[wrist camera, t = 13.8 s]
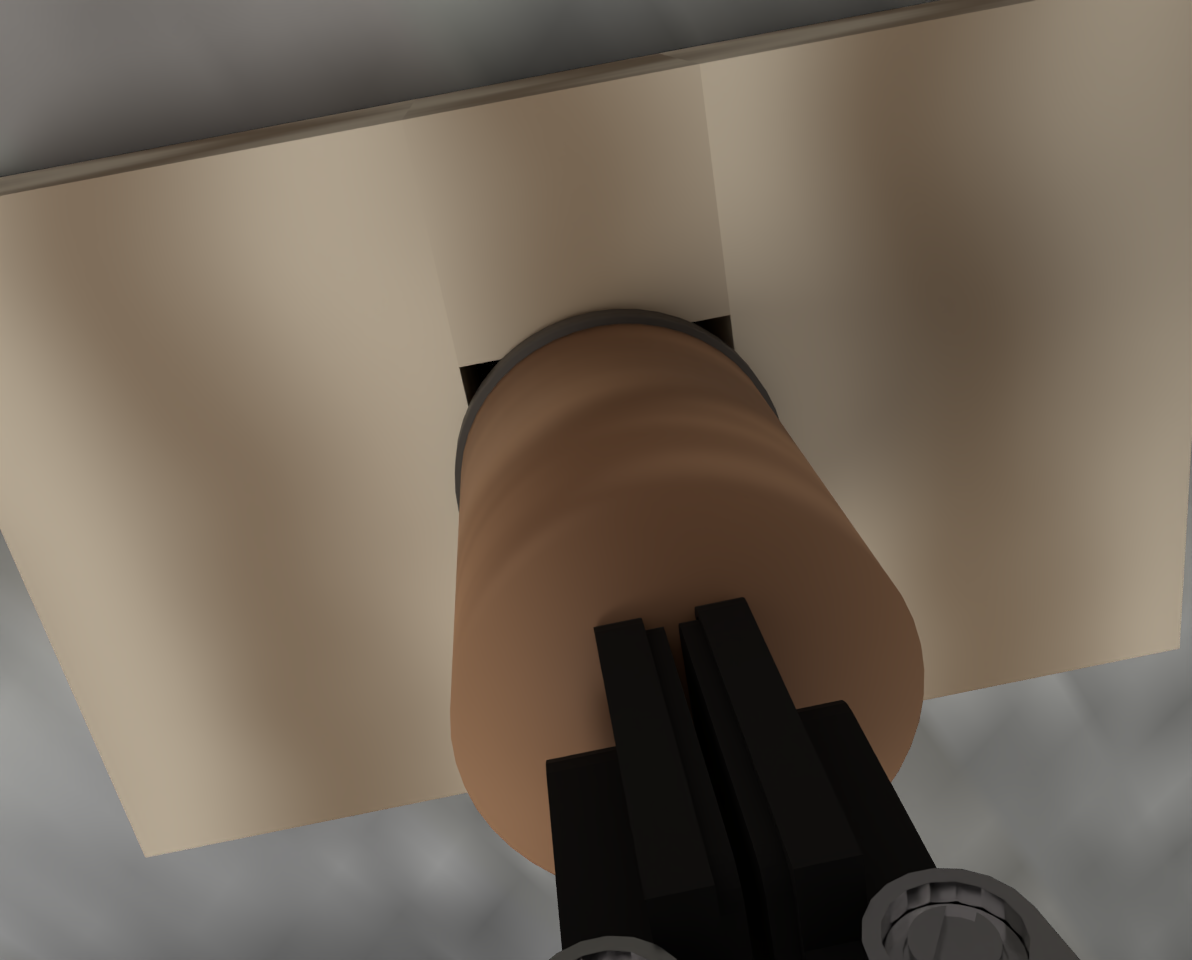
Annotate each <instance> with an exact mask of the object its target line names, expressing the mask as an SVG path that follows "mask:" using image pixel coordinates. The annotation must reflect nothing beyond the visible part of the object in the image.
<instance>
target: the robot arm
mask: <svg viewBox="0 0 1192 960" xmlns="http://www.w3.org/2000/svg"><path fill="white" fill-rule="evenodd" d="M695 618H696V620H693V621H688V622H683V623H679V625H678V626H679V635H680V641H681V647H682V653H683V660H684V666H685V672H686V678H687V684H688V690H689V696H690V703H691V709H692V715H693V721H694V724H693V721H692V718H691V714H690V711H689V708H688V704H687V701H686V698H685V695H684V691H683V688H682V685H681V681H680V678H679V675H678V672H677V668H676V665H675V662H674V658H673V655H672V652H671V649H670V645H669V642H668V639H667V635H666V632H665V629H664V627H658V628H653V629H648V630H645V627H644V624H643V620H642V618H636V619H631V620H626V621H621V622H616V623H611V624H606V625H601V626H596V627H593V628H594V634H595V639H596V644H597V650H598V655H599V660H600V666H601V671H602V676H603V681H604V687H605V692H606V697H607V703H608V708H609V713H610V718H611V724H612V729H613V734H614V740H615V745H616V746H613V747H608V748H603V749H598V750H593V751H589V752H584V753H579V754H574V755H569V756H564V757H559V758H554V759H549V760H546V777H547V788H548V799H549V810H550V821H551V832H552V843H553V854H554V865H555V876H556V887H557V898H558V909H559V920H560V931H561V942H562V951H560V952H558V953H556V954H555V955H554V956H553V957H552V958H550V959H549V960H1080V959H1079V958H1078V957H1077V955H1076V954H1075V953H1074V952H1073V951H1072V950H1071V948H1070V947H1069V946H1068V945H1067V944H1066V943H1065V941H1064V940H1063V939H1062V938H1061V937H1060V935H1059V934H1058V933H1057V932H1056V931H1055V930H1054V928H1053V927H1052V926H1051V925H1050V924H1049V923H1048V921H1047V920H1046V919H1045V918H1044V917H1043V916H1042V914H1041V913H1040V912H1039V911H1038V910H1037V909H1036V907H1035V906H1034V905H1032V904H1031V903H1030V902H1029V901H1028V900H1027V899H1026V898H1024V897H1023V896H1022V895H1021V894H1020V893H1019V892H1018V891H1017V890H1015V889H1014V888H1012V887H1010V886H1008V885H1006V884H1004V883H1002V882H1000V881H998V880H996V879H994V878H993V877H991V876H988V875H984V874H980V873H976V872H972V871H968V870H964V869H950V868H936V866H935V864H934V862H933V860H932V858H931V857H930V855H929V853H928V851H927V849H926V847H925V845H924V844H923V842H922V840H921V838H920V836H919V834H918V832H917V831H916V829H915V827H914V825H913V823H912V821H911V819H910V818H909V816H908V814H907V812H906V810H905V808H904V806H903V805H902V803H901V801H900V799H899V797H898V795H897V793H896V792H895V790H894V788H893V786H892V784H891V782H890V780H889V779H888V777H887V775H886V773H885V771H884V769H883V767H882V766H881V764H880V762H879V760H878V758H877V756H876V754H875V753H874V751H873V749H872V747H871V745H870V743H869V741H868V740H867V738H866V736H865V734H864V732H863V730H862V728H861V727H860V725H859V723H858V721H857V719H856V717H855V715H854V714H853V712H852V710H851V709H850V707H849V706H848V704H847V703H846V702H845V701H843V700H839V701H834V702H829V703H824V704H819V705H814V706H809V707H804V708H799V709H796V708H795V705H794V703H793V701H792V699H791V697H790V694H789V692H788V690H787V688H786V686H785V684H784V681H783V679H782V677H781V675H780V673H779V671H778V668H777V666H776V664H775V662H774V660H773V657H772V655H771V653H770V651H769V649H768V647H767V644H766V642H765V640H764V638H763V636H762V634H761V631H760V629H759V627H758V625H757V623H756V620H755V618H754V616H753V614H752V612H751V610H750V607H749V605H748V603H747V601H746V599H745V598H744V597H740V598H735V599H730V600H725V601H720V602H715V603H710V604H705V605H700V606H696V607H695Z"/></svg>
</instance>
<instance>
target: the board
mask: <svg viewBox="0 0 1192 960" xmlns="http://www.w3.org/2000/svg"><path fill="white" fill-rule="evenodd" d="M609 309H641V310H649V311H656V312H661V313H665V314H668V315H672V316H676V317H679V318H682V319H684V320H687V321H689V322H695V324H696V325H699V326H700V327H702V328H704V329H706V330H707V331H709V332H711V333H712V334H714V335H716V336H717V337H719V338H720V339H721V340H722V341H724V342H725V343H726V344H727V345H729V346H730V347H731V348H732V349H734V350H735V351H736V352H737V354H738V355H739V356H740V357H741V358H742V359H743V360H744V361H745V362H746V363H747V364H748V365H749V367H750V368H751V370H752V371H753V372H754V374H755V375H756V377H757V378H758V379H759V381H760V382H761V384H762V385H763V387H764V388H765V389H766V391H767V393H768V395H769V397H770V399H771V401H772V403H773V405H774V407H775V409H776V411H777V414H778V417H779V420H780V422H781V423H782V425H783V426H784V428H785V429H786V431H787V432H788V433H789V435H790V436H791V438H792V439H793V441H794V442H795V443H796V445H797V446H798V448H799V449H800V451H801V452H802V453H803V455H804V456H805V458H806V459H807V461H808V462H809V463H810V465H811V466H812V468H813V469H814V471H815V472H816V473H817V475H818V476H819V478H820V479H821V481H822V482H823V483H824V485H825V486H826V488H827V489H828V491H829V492H830V493H831V495H832V496H833V498H834V499H835V501H836V502H837V503H838V505H839V506H840V508H841V509H842V511H843V512H844V513H845V515H846V516H847V518H848V519H849V521H850V522H851V523H852V525H853V526H854V528H855V529H856V531H857V532H858V533H859V535H860V536H861V538H862V539H863V541H864V542H865V543H866V545H867V546H868V548H869V549H870V551H871V552H872V553H873V555H874V556H875V558H876V559H877V561H878V562H879V563H880V565H881V566H882V568H883V569H884V571H885V572H886V573H887V575H888V576H889V578H890V579H891V581H892V582H893V583H894V585H895V586H896V588H897V589H898V591H899V592H900V593H901V595H902V597H903V599H904V601H905V603H906V605H907V607H908V609H909V611H910V613H911V615H912V617H913V619H914V622H915V626H916V629H917V632H918V636H919V639H920V643H921V648H922V655H923V663H924V697H923V700H927V699H932V698H937V697H942V696H947V695H952V694H957V693H962V692H967V691H972V690H977V689H982V688H987V687H992V686H997V685H1001V684H1006V683H1011V682H1016V681H1021V680H1026V679H1031V678H1036V677H1041V676H1046V675H1051V674H1056V673H1061V672H1066V671H1071V670H1076V669H1081V668H1086V667H1090V666H1095V665H1100V664H1105V663H1110V662H1115V661H1120V660H1125V659H1130V658H1135V657H1140V656H1145V655H1150V654H1155V653H1160V652H1165V651H1170V650H1175V649H1179V647H1180V630H1181V613H1182V596H1183V579H1184V562H1185V544H1186V527H1187V510H1188V493H1189V476H1190V459H1191V442H1192V0H939V1H934V2H929V3H923V4H918V5H913V6H908V7H902V8H897V9H892V10H886V11H881V12H876V13H870V14H865V15H860V16H854V17H849V18H844V19H838V20H833V21H828V22H823V23H817V24H812V25H807V26H801V27H796V28H791V29H785V30H780V31H775V32H769V33H764V34H759V35H754V36H748V37H743V38H738V39H732V40H727V41H722V42H716V43H711V44H706V45H700V46H695V47H690V48H684V49H679V50H674V51H669V52H663V53H658V54H653V55H647V56H642V57H637V58H631V59H626V60H621V61H615V62H610V63H605V64H600V65H594V66H589V67H584V68H578V69H573V70H568V71H562V72H557V73H552V74H546V75H541V76H536V77H530V78H525V79H520V80H515V81H509V82H504V83H499V84H493V85H488V86H483V87H477V88H472V89H467V90H461V91H456V92H451V93H446V94H440V95H435V96H430V97H424V98H419V99H414V100H408V101H403V102H398V103H392V104H387V105H382V106H376V107H371V108H366V109H361V110H355V111H350V112H345V113H339V114H334V115H329V116H323V117H318V118H313V119H307V120H302V121H297V122H291V123H286V124H281V125H276V126H270V127H265V128H260V129H254V130H249V131H244V132H238V133H233V134H228V135H222V136H217V137H212V138H207V139H201V140H196V141H191V142H185V143H180V144H175V145H169V146H164V147H159V148H153V149H148V150H143V151H137V152H132V153H127V154H122V155H116V156H111V157H106V158H100V159H95V160H90V161H84V162H79V163H74V164H68V165H63V166H58V167H53V168H47V169H42V170H37V171H31V172H26V173H21V174H15V175H10V176H5V177H0V529H1V532H2V534H3V536H4V538H5V541H6V543H7V545H8V547H9V550H10V552H11V554H12V556H13V559H14V561H15V563H16V565H17V568H18V570H19V572H20V575H21V577H22V579H23V581H24V584H25V586H26V588H27V590H28V593H29V595H30V597H31V599H32V602H33V604H34V606H35V608H36V611H37V613H38V615H39V618H40V620H41V622H42V624H43V627H44V629H45V631H46V633H47V636H48V638H49V640H50V642H51V645H52V647H53V649H54V651H55V654H56V656H57V658H58V661H59V663H60V665H61V667H62V670H63V672H64V674H65V676H66V679H67V681H68V683H69V685H70V688H71V690H72V692H73V694H74V697H75V699H76V701H77V704H78V706H79V708H80V710H81V713H82V715H83V717H84V719H85V722H86V724H87V726H88V728H89V731H90V733H91V735H92V737H93V740H94V742H95V744H96V747H97V749H98V751H99V753H100V756H101V758H102V760H103V762H104V765H105V767H106V769H107V771H108V774H109V776H110V778H111V780H112V783H113V785H114V787H115V790H116V792H117V794H118V796H119V799H120V801H121V803H122V805H123V808H124V810H125V812H126V814H127V817H128V819H129V821H130V823H131V826H132V828H133V830H134V832H135V835H136V837H137V839H138V842H139V844H140V846H141V848H142V851H143V853H144V855H145V857H151V856H156V855H161V854H166V853H171V852H176V851H181V850H186V849H190V848H195V847H200V846H205V845H210V844H215V843H220V842H225V841H230V840H235V839H240V838H245V837H250V836H255V835H260V834H265V833H270V832H275V831H279V830H284V829H289V828H294V827H299V826H304V825H309V824H314V823H319V822H324V821H329V820H334V819H339V818H344V817H349V816H354V815H359V814H364V813H369V812H373V811H378V810H383V809H388V808H393V807H398V806H403V805H408V804H413V803H418V802H423V801H428V800H433V799H438V798H443V797H448V796H453V795H458V794H462V793H467V790H466V788H465V787H464V784H463V781H462V778H461V776H460V773H459V770H458V768H457V765H456V761H455V756H454V751H453V746H452V741H451V726H450V701H451V679H452V657H453V636H454V614H455V592H456V571H457V549H458V527H459V511H458V505H457V499H456V493H455V459H456V450H457V442H458V437H459V433H460V429H461V425H462V422H463V418H464V416H465V414H466V411H467V409H468V407H469V404H470V402H471V400H472V398H473V396H474V395H475V393H476V391H477V390H478V388H479V386H480V385H481V384H480V380H479V375H478V371H477V366H476V364H479V363H484V362H489V361H494V360H500V359H502V358H503V357H504V356H505V355H506V354H507V353H509V352H510V351H511V350H512V349H513V348H514V347H516V346H517V345H519V344H520V343H521V342H523V341H524V340H525V339H527V338H528V337H529V336H531V335H533V334H535V333H537V332H538V331H540V330H542V329H544V328H546V327H547V326H549V325H552V324H554V323H557V322H559V321H562V320H564V319H567V318H569V317H573V316H577V315H581V314H585V313H588V312H593V311H601V310H609Z"/></svg>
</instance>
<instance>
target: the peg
mask: <svg viewBox="0 0 1192 960" xmlns="http://www.w3.org/2000/svg"><path fill="white" fill-rule="evenodd" d="M455 493H456V499H457V505H458V511H459V527H458V549H457V571H456V592H455V614H454V636H453V657H452V679H451V701H450V726H451V741H452V746H453V751H454V756H455V761H456V765H457V768H458V770H459V773H460V776H461V778H462V781H463V784H464V787H465V788H466V790H467V792H468V794H469V796H470V797H471V799H472V801H473V803H474V805H475V806H476V808H477V810H478V811H479V812H480V814H481V815H482V816H483V818H484V819H485V820H486V821H487V823H488V824H489V825H490V827H491V828H492V829H493V830H494V831H495V832H496V833H497V834H498V835H499V836H500V837H501V838H502V839H503V840H504V841H505V842H506V843H507V844H508V845H509V846H510V847H512V848H513V849H514V850H516V851H517V852H518V853H520V854H521V855H523V856H524V857H525V858H527V859H528V860H529V861H531V862H532V863H534V864H536V865H537V866H539V867H541V868H543V869H545V870H547V871H548V872H550V873H552V874H554V875H555V865H554V854H553V843H552V832H551V821H550V810H549V799H548V788H547V777H546V760H549V759H554V758H559V757H564V756H569V755H574V754H579V753H584V752H589V751H593V750H598V749H603V748H608V747H613V746H616V745H615V740H614V734H613V729H612V724H611V718H610V713H609V708H608V703H607V697H606V692H605V687H604V681H603V676H602V671H601V666H600V660H599V655H598V650H597V644H596V639H595V634H594V628H593V627H596V626H601V625H606V624H611V623H616V622H621V621H626V620H631V619H636V618H642V620H643V624H644V627H645V630H648V629H653V628H658V627H664V629H665V632H666V635H667V639H668V642H669V645H670V649H671V652H672V655H673V658H674V662H675V665H676V668H677V672H678V675H679V678H680V681H681V685H682V688H683V691H684V695H685V698H686V701H687V704H688V708H689V711H690V714H691V718H692V721H693V715H692V709H691V703H690V696H689V690H688V684H687V678H686V672H685V666H684V660H683V653H682V647H681V641H680V635H679V626H678V625H679V623H683V622H688V621H693V620H696V618H695V607H696V606H700V605H705V604H710V603H715V602H720V601H725V600H730V599H735V598H740V597H744V598H745V599H746V601H747V603H748V605H749V607H750V610H751V612H752V614H753V616H754V618H755V620H756V623H757V625H758V627H759V629H760V631H761V634H762V636H763V638H764V640H765V642H766V644H767V647H768V649H769V651H770V653H771V655H772V657H773V660H774V662H775V664H776V666H777V668H778V671H779V673H780V675H781V677H782V679H783V681H784V684H785V686H786V688H787V690H788V692H789V694H790V697H791V699H792V701H793V703H794V705H795V708H796V709H799V708H804V707H809V706H814V705H819V704H824V703H829V702H834V701H839V700H843V701H845V702H846V703H847V704H848V706H849V707H850V709H851V710H852V712H853V714H854V715H855V717H856V719H857V721H858V723H859V725H860V727H861V728H862V730H863V732H864V734H865V736H866V738H867V740H868V741H869V743H870V745H871V747H872V749H873V751H874V753H875V754H876V756H877V758H878V760H879V762H880V764H881V766H882V767H883V769H884V771H885V773H886V775H887V777H888V779H889V780H890V782H892V780H893V779H894V777H895V776H896V774H897V773H898V771H899V769H900V767H901V765H902V763H903V761H904V759H905V757H906V755H907V753H908V751H909V749H910V747H911V744H912V741H913V738H914V735H915V732H916V729H917V726H918V723H919V719H920V714H921V708H922V702H923V697H924V663H923V655H922V648H921V643H920V639H919V636H918V632H917V629H916V626H915V622H914V619H913V617H912V615H911V613H910V611H909V609H908V607H907V605H906V603H905V601H904V599H903V597H902V595H901V593H900V592H899V591H898V589H897V588H896V586H895V585H894V583H893V582H892V581H891V579H890V578H889V576H888V575H887V573H886V572H885V571H884V569H883V568H882V566H881V565H880V563H879V562H878V561H877V559H876V558H875V556H874V555H873V553H872V552H871V551H870V549H869V548H868V546H867V545H866V543H865V542H864V541H863V539H862V538H861V536H860V535H859V533H858V532H857V531H856V529H855V528H854V526H853V525H852V523H851V522H850V521H849V519H848V518H847V516H846V515H845V513H844V512H843V511H842V509H841V508H840V506H839V505H838V503H837V502H836V501H835V499H834V498H833V496H832V495H831V493H830V492H829V491H828V489H827V488H826V486H825V485H824V483H823V482H822V481H821V479H820V478H819V476H818V475H817V473H816V472H815V471H814V469H813V468H812V466H811V465H810V463H809V462H808V461H807V459H806V458H805V456H804V455H803V453H802V452H801V451H800V449H799V448H798V446H797V445H796V443H795V442H794V441H793V439H792V438H791V436H790V435H789V433H788V432H787V431H786V429H785V428H784V426H783V425H782V423H781V422H780V420H779V417H778V414H777V411H776V409H775V407H774V405H773V403H772V401H771V399H770V397H769V395H768V393H767V391H766V389H765V388H764V387H763V385H762V384H761V382H760V381H759V379H758V378H757V377H756V375H755V374H754V372H753V371H752V370H751V368H750V367H749V365H748V364H747V363H746V362H745V361H744V360H743V359H742V358H741V357H740V356H739V355H738V354H737V352H736V351H735V350H734V349H732V348H731V347H730V346H729V345H727V344H726V343H725V342H724V341H722V340H721V339H720V338H719V337H717V336H716V335H714V334H712V333H711V332H709V331H707V330H706V329H704V328H702V327H700V326H699V325H696V324H694V323H691V322H689V321H687V320H684V319H682V318H679V317H676V316H672V315H668V314H665V313H661V312H656V311H649V310H641V309H609V310H601V311H593V312H588V313H585V314H581V315H577V316H573V317H569V318H567V319H564V320H562V321H559V322H557V323H554V324H552V325H549V326H547V327H546V328H544V329H542V330H540V331H538V332H537V333H535V334H533V335H531V336H529V337H528V338H527V339H525V340H524V341H523V342H521V343H520V344H519V345H517V346H516V347H514V348H513V349H512V350H511V351H510V352H509V353H507V354H506V355H505V356H504V357H503V358H502V359H501V360H500V361H499V362H498V363H497V364H496V365H495V366H494V368H493V369H492V370H491V371H490V373H489V374H488V375H487V376H486V378H485V379H484V380H483V381H482V383H481V385H480V386H479V388H478V390H477V391H476V393H475V395H474V396H473V398H472V400H471V402H470V404H469V407H468V409H467V411H466V414H465V416H464V418H463V422H462V425H461V429H460V433H459V437H458V442H457V450H456V459H455ZM693 724H694V721H693Z"/></svg>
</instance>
